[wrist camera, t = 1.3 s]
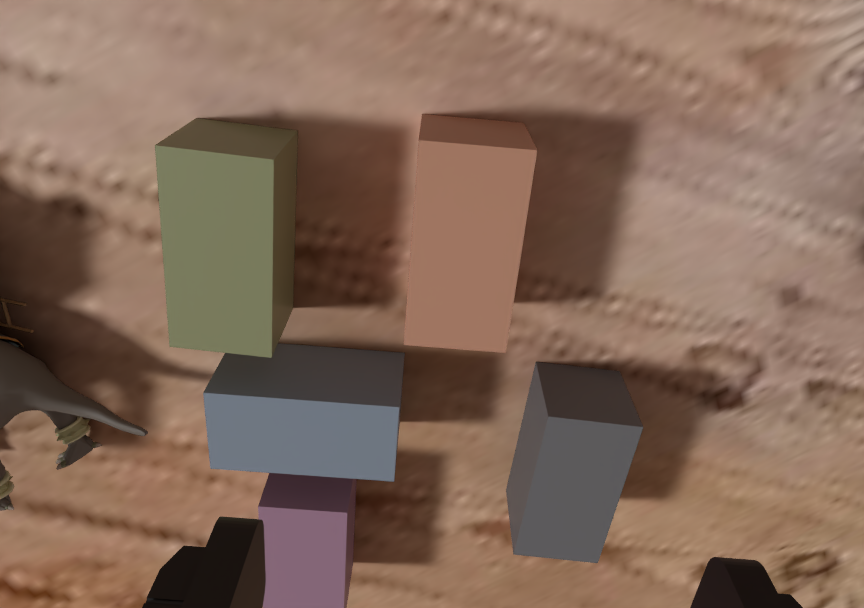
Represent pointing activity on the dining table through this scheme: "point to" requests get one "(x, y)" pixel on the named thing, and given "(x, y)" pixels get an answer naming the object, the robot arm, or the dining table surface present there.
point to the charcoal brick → (570, 461)
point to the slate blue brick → (306, 412)
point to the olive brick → (228, 234)
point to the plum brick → (308, 540)
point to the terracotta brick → (467, 231)
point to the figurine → (46, 404)
